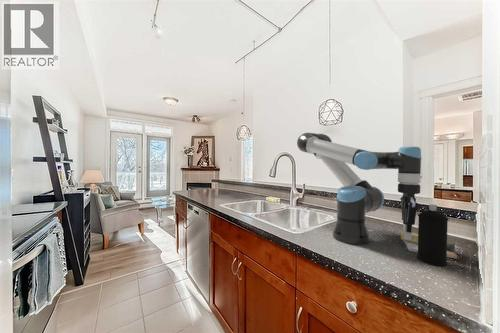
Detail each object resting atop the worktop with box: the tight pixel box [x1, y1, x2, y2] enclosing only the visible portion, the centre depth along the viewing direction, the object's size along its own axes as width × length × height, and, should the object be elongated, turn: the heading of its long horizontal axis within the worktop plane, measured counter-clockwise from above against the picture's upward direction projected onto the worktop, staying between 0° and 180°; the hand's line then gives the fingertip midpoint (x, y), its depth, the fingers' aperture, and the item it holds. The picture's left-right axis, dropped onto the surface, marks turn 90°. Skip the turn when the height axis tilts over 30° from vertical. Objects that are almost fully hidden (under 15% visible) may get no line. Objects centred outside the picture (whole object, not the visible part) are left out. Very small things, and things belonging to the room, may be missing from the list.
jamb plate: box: [402, 240, 418, 253], centre depth 87 cm, size 7×15×1 cm, turn 153°
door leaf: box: [447, 242, 458, 260], centre depth 83 cm, size 8×15×4 cm, turn 153°
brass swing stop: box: [400, 230, 418, 243], centre depth 88 cm, size 10×4×4 cm, turn 40°
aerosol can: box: [416, 204, 449, 267], centre depth 74 cm, size 8×8×20 cm
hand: (407, 239), depth 88 cm, fingers closed
